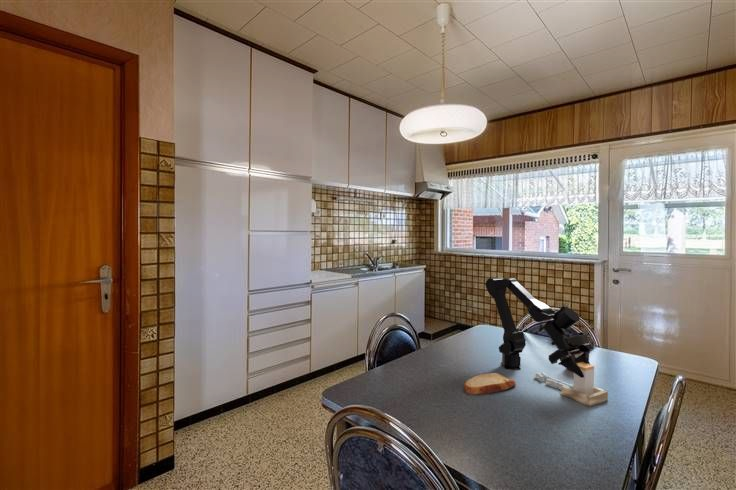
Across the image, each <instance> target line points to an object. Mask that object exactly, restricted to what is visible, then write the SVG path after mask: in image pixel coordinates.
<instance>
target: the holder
mask: <svg viewBox="0 0 736 490" xmlns="http://www.w3.org/2000/svg"><path fill="white" fill-rule="evenodd" d="M559 395H562V396H564V397H566V398H568V399H571V400H573V401H576V402H577V403H580V404H582V405H585V406H587V407H588V408H590V407H593V406H596V405H598V404H601V403H603V402H606V401H608V399H609V398H608V397H609V392H608V391H607V390H605V389H602V388H599V387H597V386H594V392H593V394H592V395H589V396H588V395H585V394H583V393H581V392H578V391H576V390H573V389H571V388H568V387H566V386H562V389H561V390H560V392H559Z"/></svg>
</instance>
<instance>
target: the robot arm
mask: <svg viewBox="0 0 736 490" xmlns="http://www.w3.org/2000/svg"><path fill="white" fill-rule="evenodd" d="M485 288H486V291H487V292H488V294H489V295H490V296H491V297H492V298H493V301H494V303H495V306H496V309H497V313H498V315H499V318H500V322H501V325H502V328H503V335H502V340H503V343H502V344H501V345H499V346H498V351H499V353H500V354H501V355H502V356H501V362H500V365H501V366H502V367H503V368H504V369H505V370H521V369H522V368H521V359H522V358H521V356H520V354H521V353H523V350H524V349H525V347H526V344H527V343H526V341H527V340H526V338H525V335H524V334H525V333H524V332H523V331H521V330H520V331H519V330H518V329H517V327H516V324H515V321H514V318H513V315H512V312H511V308H510V306H509V302H508V299H507V297H506V294H507V289H508V290H509V291H510V292H511V293H512V294H513V295H514V296H515V297H516V298H517V299H518V300H519V301H520V302H521V303H522V304H523V306H525V307H526V309H527V313H528V314H529V315H530V317H531V318H532V320H533V321H534V322H537V323H541V322H542V323H541V324H539V328H538V332H545V333H546V334H547V335H548V337H549V339H550V340H551V343H550V344H551V346H555V347H556V348H557V349H556V350H555V351H553V352H552V353H550V354H549V355H548V361H549V363H550V364H551V365H555V364H557V363H558V365H559V366H562V367H564V368H565V369H567V370H568V369H569V370H568V371H570V372H572V373H573V374H574V373H575V374H577V375H578V376H580V377H581V378H583V377H584V375H583V373H582V371H581V369H580V368H579V366H578V365H577V363H580V362H585V363H588V364H591V363H590V358H589V359H588V355H589V356H590V353H591V352H592V351H594V350H595V347H594V346H593V345H592V344H591V342H590V339H591V336H590V335H589V334H588V333H587V332H586V331H581V332H580V331H579V332H578V333H577V334H578V335H576V336H573V334H571V333H567V332H566V331H565V330H568V329H570V328H571V327H573V326H574V325H575V324H577V323H578V322H579V321H580V319H581V318H580V316H579V314H578V313H577V311H575V310H573V308H572V309H571V308H569V307H568V306H567V305H563V306H561V307H560V308H559V309H558V310H557V311H556V310H554V309H552V307H550V306H549V305H547V304H546V303H544V302H543V301H540V300H538V299H536V297H534V296H533V295H532V294H531V293H530V292H529V291H528V290H527V289H526V288H525V287H524V286H522V284H520V282H519V281H518V280H517V278H514V277H512V278H511V277H510V278H509V277H507V278H502V277H490V278H487V280H486V282H485ZM543 322H544V323H543ZM575 358H576V359H575ZM558 361H560V362H558Z"/></svg>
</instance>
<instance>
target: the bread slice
mask: <svg viewBox="0 0 736 490" xmlns="http://www.w3.org/2000/svg"><path fill="white" fill-rule="evenodd" d="M516 385H517V382H516V381H515V380H514V379H510V378H507V377H506V376H504V375H502V374H500V373H498V372H490V373H489V372H488V373H482V374H477V375H475V376H473V377H471V378H469V379H467V380H466V382H465V383H464V385H463V390H464V392H465V393H467V394H470V395H485V394H490V393H496V392H502V391H506V390H509V389H510V388H514V387H515V386H516Z"/></svg>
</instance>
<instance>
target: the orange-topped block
mask: <svg viewBox="0 0 736 490" xmlns="http://www.w3.org/2000/svg"><path fill="white" fill-rule="evenodd" d="M577 365H578V366H579V368H580V369H581V371H582V373H583V375H584V377H583V378H581V377H580V376H578V375H577V374H575V373H574V372H573V384H572V385H573V390H576V391H578V392H581V393H583V394H585V395H588V396H589V395H592V394H593V392H594V387H595V384H594V383H595V365H593V364H591V363H590V364H588V363H585V362H580V363H577Z"/></svg>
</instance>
